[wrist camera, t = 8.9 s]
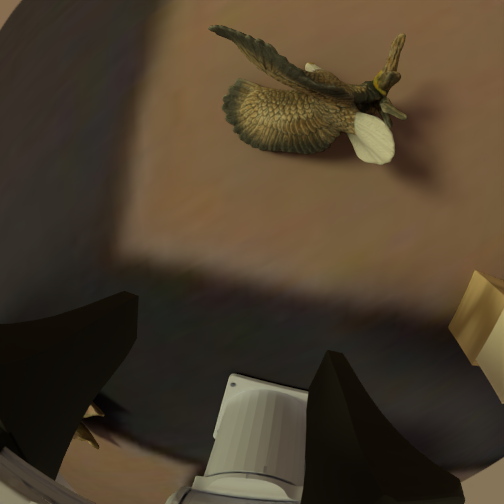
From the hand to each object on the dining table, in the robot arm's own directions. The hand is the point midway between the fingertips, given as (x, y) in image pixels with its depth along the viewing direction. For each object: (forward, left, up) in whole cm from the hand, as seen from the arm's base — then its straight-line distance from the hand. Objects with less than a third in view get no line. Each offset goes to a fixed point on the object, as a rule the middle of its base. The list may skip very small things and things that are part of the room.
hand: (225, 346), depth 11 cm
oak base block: (+1, -18, -11) cm, 21 cm away
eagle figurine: (+10, 0, -11) cm, 15 cm away
